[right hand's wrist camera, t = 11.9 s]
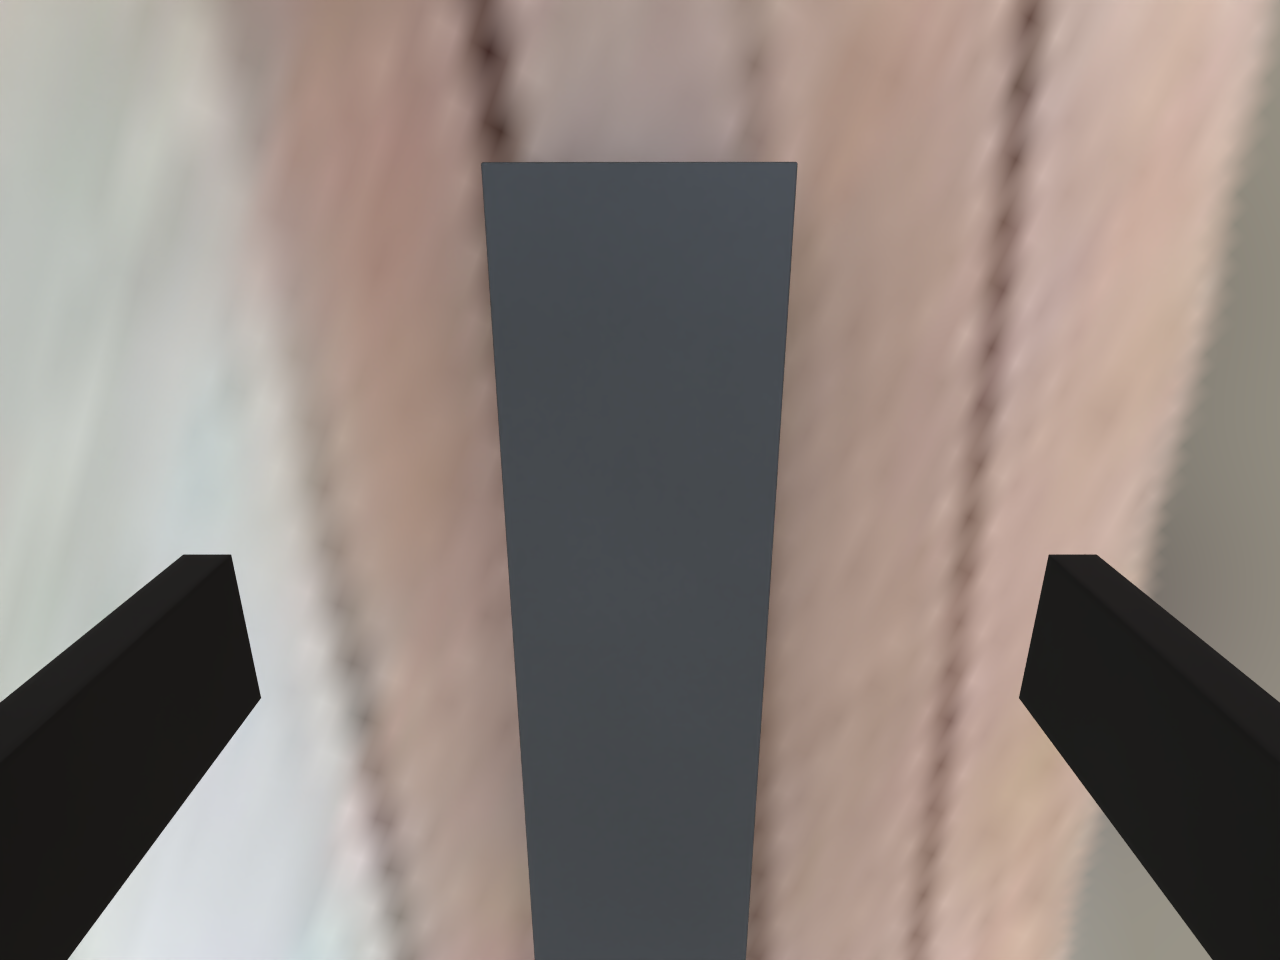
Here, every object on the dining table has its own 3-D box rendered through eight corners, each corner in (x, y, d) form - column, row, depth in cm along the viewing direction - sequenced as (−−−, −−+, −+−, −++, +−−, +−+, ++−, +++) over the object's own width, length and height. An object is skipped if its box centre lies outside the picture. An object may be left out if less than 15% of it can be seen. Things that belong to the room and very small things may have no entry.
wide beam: (516, 168, 31) (480, 162, 24) (763, 168, 31) (798, 161, 24) (572, 1221, 56) (562, 1367, 49) (709, 1221, 56) (719, 1368, 49)
